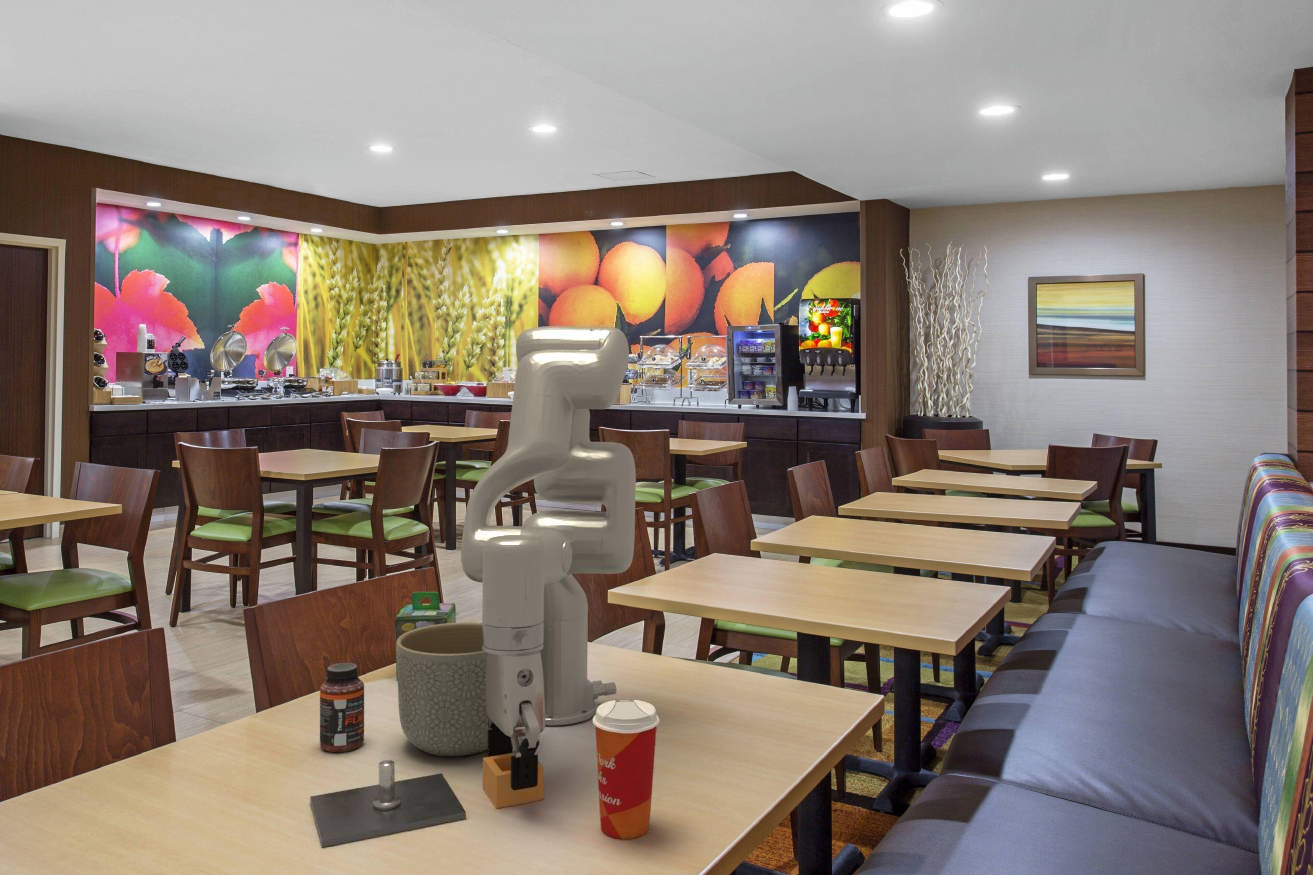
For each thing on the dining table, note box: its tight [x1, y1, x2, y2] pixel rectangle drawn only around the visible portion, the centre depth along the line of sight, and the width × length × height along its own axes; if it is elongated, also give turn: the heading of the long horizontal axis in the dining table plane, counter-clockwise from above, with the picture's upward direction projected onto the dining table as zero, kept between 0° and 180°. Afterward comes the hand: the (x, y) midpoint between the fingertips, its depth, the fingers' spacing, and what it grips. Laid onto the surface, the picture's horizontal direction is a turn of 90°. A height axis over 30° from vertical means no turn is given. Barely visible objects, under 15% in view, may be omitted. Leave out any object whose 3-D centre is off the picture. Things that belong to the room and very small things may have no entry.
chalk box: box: [394, 591, 457, 682], centre depth 162 cm, size 9×9×15 cm
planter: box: [395, 621, 491, 758], centre depth 131 cm, size 17×17×15 cm
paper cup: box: [592, 699, 660, 840], centre depth 106 cm, size 8×8×14 cm
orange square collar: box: [482, 752, 545, 809], centre depth 115 cm, size 6×6×4 cm
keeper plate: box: [309, 759, 467, 848], centre depth 110 cm, size 16×12×6 cm
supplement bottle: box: [319, 662, 365, 753], centre depth 129 cm, size 6×6×11 cm
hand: (511, 772), depth 114 cm, fingers open, 9 cm apart
